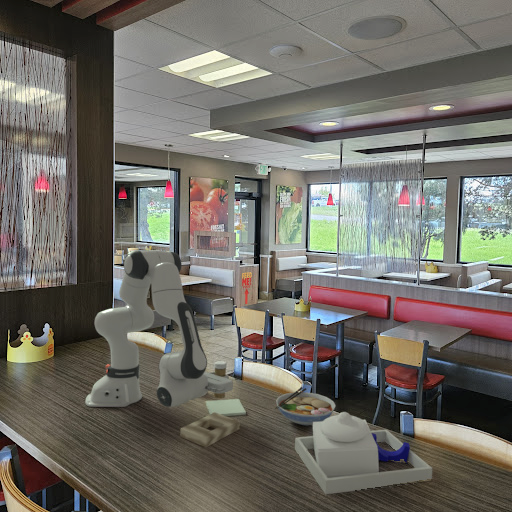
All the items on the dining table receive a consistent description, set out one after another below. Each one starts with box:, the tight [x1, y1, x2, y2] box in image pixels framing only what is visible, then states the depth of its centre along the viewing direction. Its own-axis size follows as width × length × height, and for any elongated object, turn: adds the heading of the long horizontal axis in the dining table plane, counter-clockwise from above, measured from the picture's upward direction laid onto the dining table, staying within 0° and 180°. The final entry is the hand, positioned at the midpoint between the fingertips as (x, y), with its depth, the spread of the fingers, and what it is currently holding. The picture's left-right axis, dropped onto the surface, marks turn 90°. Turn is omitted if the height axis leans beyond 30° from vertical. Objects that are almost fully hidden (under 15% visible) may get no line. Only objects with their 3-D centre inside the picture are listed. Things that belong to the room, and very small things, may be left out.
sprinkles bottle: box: [213, 360, 227, 399], centre depth 172 cm, size 5×5×14 cm
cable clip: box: [372, 433, 411, 463], centre depth 145 cm, size 12×4×6 cm, turn 79°
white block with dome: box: [312, 411, 380, 478], centre depth 141 cm, size 18×18×16 cm
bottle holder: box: [179, 412, 240, 448], centre depth 160 cm, size 18×12×3 cm, turn 144°
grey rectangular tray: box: [294, 429, 433, 495], centre depth 142 cm, size 34×26×4 cm
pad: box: [205, 398, 247, 417], centre depth 182 cm, size 14×14×1 cm
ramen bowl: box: [274, 386, 336, 426], centre depth 172 cm, size 25×23×8 cm
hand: (221, 375), depth 173 cm, fingers closed on sprinkles bottle, 4 cm apart
